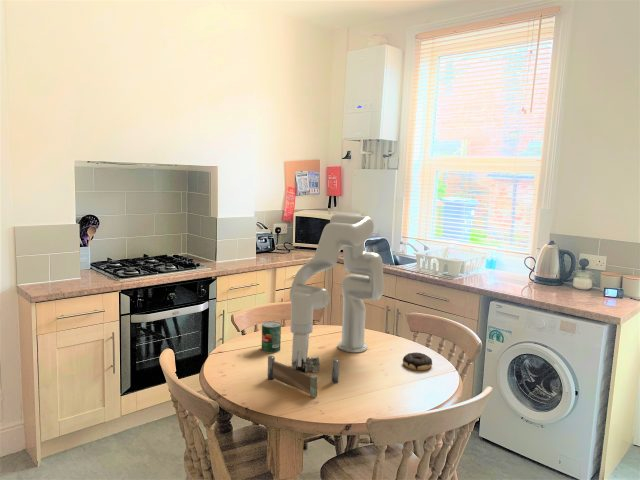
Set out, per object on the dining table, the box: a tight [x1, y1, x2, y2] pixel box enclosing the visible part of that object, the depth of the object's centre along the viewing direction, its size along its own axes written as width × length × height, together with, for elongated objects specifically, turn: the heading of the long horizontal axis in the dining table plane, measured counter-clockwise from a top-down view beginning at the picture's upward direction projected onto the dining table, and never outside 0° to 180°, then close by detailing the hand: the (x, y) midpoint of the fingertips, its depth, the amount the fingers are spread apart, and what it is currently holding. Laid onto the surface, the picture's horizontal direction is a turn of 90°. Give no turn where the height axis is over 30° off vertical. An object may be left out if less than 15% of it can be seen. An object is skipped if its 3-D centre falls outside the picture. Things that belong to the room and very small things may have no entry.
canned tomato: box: [261, 320, 282, 354], centre depth 211 cm, size 8×8×11 cm
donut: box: [402, 352, 433, 371], centre depth 200 cm, size 11×12×4 cm
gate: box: [273, 360, 318, 399], centre depth 175 cm, size 2×20×7 cm, turn 49°
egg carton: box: [291, 356, 320, 373], centre depth 194 cm, size 11×8×4 cm
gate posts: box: [267, 355, 340, 384], centre depth 182 cm, size 2×25×8 cm, turn 88°
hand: (300, 377), depth 178 cm, fingers closed
